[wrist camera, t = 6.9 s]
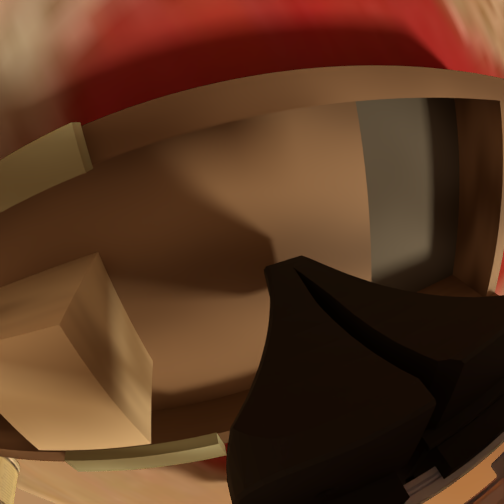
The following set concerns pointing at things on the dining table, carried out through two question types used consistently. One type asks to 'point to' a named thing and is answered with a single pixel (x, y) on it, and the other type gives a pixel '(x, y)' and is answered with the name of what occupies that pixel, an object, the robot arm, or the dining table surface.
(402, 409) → the robot arm
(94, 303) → the birch block
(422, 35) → the dining table surface
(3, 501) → the coffee can
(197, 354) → the trap lane
